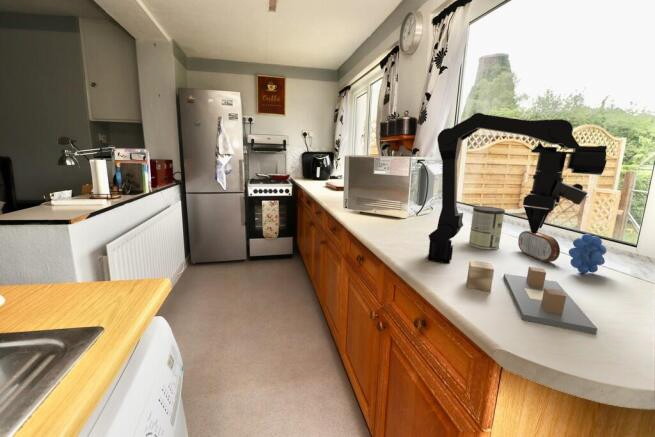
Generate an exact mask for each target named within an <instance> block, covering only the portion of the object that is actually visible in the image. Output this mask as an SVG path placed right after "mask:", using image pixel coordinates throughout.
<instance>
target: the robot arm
mask: <svg viewBox="0 0 655 437" xmlns="http://www.w3.org/2000/svg"><path fill="white" fill-rule="evenodd" d="M573 127H574V126H573V125H572V124H571V122H570V121H568V120H566V119H540V120H539V119H538V120H529V119H521V118H514V117H506V116H498V115H492V114H484V113H481V112H476V113H473V115H471V116H470V117H468V118H467V119H465V120H463V121H461V122H459V123H458V124H457V123H456V124H455V125H454V126H453V127H447V128H444V129H443V130H441V131H440V132H439V133H438V134H437V139H436V140H437V147H438V150H439V154H440V157H441V164H442V166H441V167H442V168H441V169H442V170H441V171H442V172H441V174H442V175H441V178H442V179H441V180H442V181H441V204H442V205H441V210H440V212H439V214H440V215H439V217H438V220H437V221H438V222H437V226H436V229H434V230H433V231H432V232H431V233H429V234H428V239H429V245H428V246H429V247H428V254H427V258H426V259H427V261H431V262H438V263H444V264H450V262H451V261H452V258H453V253H454V252H453V251H454V250H453V249H454V245H453V244H452V238H454V237H455V236H457V234H459V232H460V231H461V229H462V228H463V226H464V223H463V217H464V212H459V210H458V206H457V205H458V203H457V202H458V200H457V199H458V196H457V193H458V192H457V191H458V188H457V187H458V158H459V156H460V152H461V149H462V143H463V141H464V140H466V139H468V138H469V137H470V136H472V135H473V134H474V133H476V132H478V131H480V130H485V131H486V130H488V131H491V132H492V131H493V132H500V133H505V134H514V135H519V136H524V137H525V136H526V137H527V138H531V139H534V140H535V141H539V142H542V143H545V144H547V145H551V146H543V144H542V143H539V144H537V146H535V147H534V148H532V149H531V150H530V153H532V154H538V156H537V161H536V162H537V163H536V167H535V171H534V174H533V176H532V180H533V183H532V186H531V190H530V191H529V194H528V195H526V196H524V197H523V202H522V205H523V208H524V212H525V215H526V218H527V221H528V222H527V223H528V226H529V229H530V230H531V233H534V234H536V233H537V232H539V230H540V229H542V227H543V225H544V223H545V222H546V219H547V217H548V215H549V213H551V212H553V211H554V209H555V208H556V207H558V205H559V203H560V202H561V198H563V199H566V200H568V201H571V202H572V203H573V204H575V205H580V204H581V203H582V202H583V200H584V199H585V198H586V196H587V195H588V194H589V193H588V192H587V191H585V190H583V188H584V185H582V184H580V183H575V184H573V185H572V184H568V183H565V182H564V177H563V172H564V168H565V163H566V158H567V155H568V158H567V163H566V169H569V170H571V171H570V173H571V174H577V175H578V174H582V175H597V176H601V175H602V174H603V173H604V171H605V168H606V165H607V162H608V160H607V148H608V147H607V145H597V146H596V145H595V146H593V145H589V146H588V145H580V144H579V143H578V142H579V141H577V140H576V138H575V137H574V135H573V133H574V132H573V130H574V128H573ZM552 145H553V146H552ZM556 145H557V146H559V147H560V148H562V149H564V150H572V151H563V150H562V151H561V150H559V151H558V147H557V146H556Z"/></svg>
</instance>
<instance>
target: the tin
mask: <svg viewBox="0 0 655 437" xmlns="http://www.w3.org/2000/svg"><path fill="white" fill-rule="evenodd" d="M517 243H518V244H517V245H518V248H519V250H520V251H521V252H522V254H524V255H527V256H529V257H531V258H534V259H536V260H538V261H541V262H544V263H545V262H546V263H547V262H550V263H551V262H554V261H556V260H557V259H559V256H560V253H561V248H560V244H559V242H558V241H557V239H555V238H554V237H553V236H551V235H548V234H545V233H543V232H539V231H538V232H537V233H536V234H534V233H531V229H530V230H524V231H522V232H521V233H520V234H519V235H518V242H517Z"/></svg>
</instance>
